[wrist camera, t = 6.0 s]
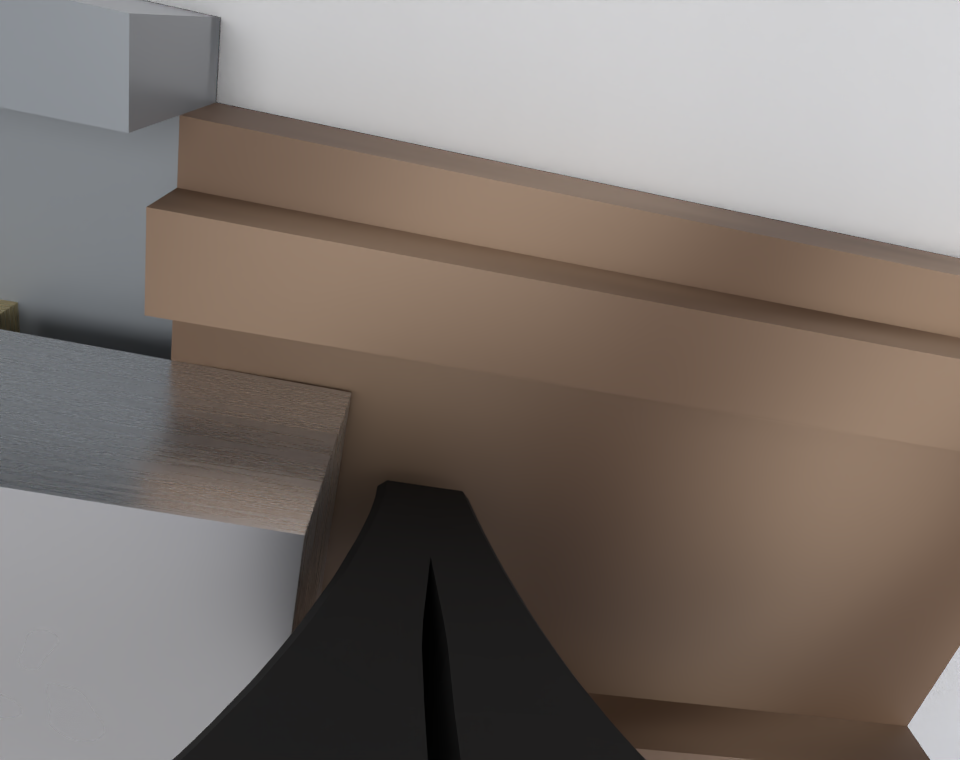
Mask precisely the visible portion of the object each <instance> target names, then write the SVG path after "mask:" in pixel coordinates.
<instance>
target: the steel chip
mask: <svg viewBox="0 0 960 760" xmlns="http://www.w3.org/2000/svg"><path fill="white" fill-rule="evenodd" d="M350 398H351V392H345V391H340V390H334V389H329V388H323V387H318V386H312V385H307V384H301V383H296V382H290V381H285V380H279V379H273V378H268V377H262V376H257V375H251V374H246V373H240V372H235V371H229V370H224V369H218V368H213V367H207V366H201V365H196V364H190V363H185V362H179V361H173V360H168V359H163V358H157V357H152V356H146V355H140V354H135V353H129V352H124V351H118V350H113V349H107V348H102V347H96V346H91V345H85V344H80V343H74V342H68V341H63V340H57V339H52V338H46V337H41V336H35V335H30V334H24V333H19V332H13V331H8V330H2V329H0V760H172V759H174V758H175V757H176V756H177V755H178V754H179V753H180V752H181V751H182V750H183V749H185V748H186V747H187V746H188V745H189V744H190V743H191V742H192V741H193V740H194V739H195V738H196V737H197V736H198V735H199V734H200V733H201V732H202V731H203V730H204V729H205V728H206V727H207V726H208V725H209V724H210V723H211V722H212V721H213V720H214V719H215V718H216V717H217V716H218V715H219V714H220V713H221V712H222V711H223V710H224V709H225V708H226V707H227V706H228V705H229V704H230V703H231V702H232V701H233V699H234V698H235V697H236V696H237V695H238V694H239V693H240V692H241V691H242V690H243V689H244V688H245V687H246V686H247V685H248V684H249V683H250V682H251V681H252V679H253V678H254V677H255V676H256V675H257V674H258V673H259V672H260V670H261V669H262V668H263V667H264V666H265V665H266V664H267V662H268V661H269V660H270V659H271V658H272V657H273V656H274V654H275V653H276V652H277V651H278V650H279V648H280V647H281V646H282V645H283V644H284V642H285V641H286V640H287V639H288V638H289V636H290V635H291V634H292V633H293V631H294V630H295V629H296V628H297V626H298V625H299V624H300V622H301V621H302V620H303V618H304V617H305V616H306V614H307V613H308V612H309V610H310V609H311V607H312V606H313V605H314V603H315V602H316V600H317V599H318V598H319V596H320V595H321V589H322V582H323V576H324V569H325V563H326V556H327V549H328V543H329V536H330V530H331V523H332V517H333V510H334V503H335V497H336V490H337V484H338V477H339V471H340V464H341V458H342V451H343V444H344V438H345V431H346V425H347V418H348V412H349V405H350Z"/></svg>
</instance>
